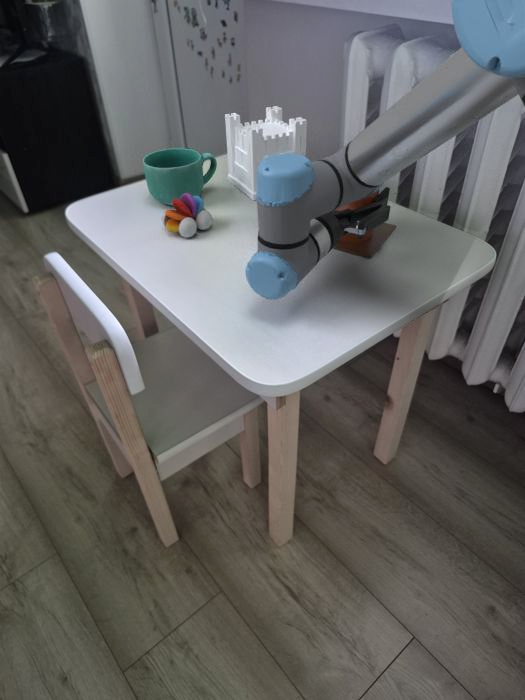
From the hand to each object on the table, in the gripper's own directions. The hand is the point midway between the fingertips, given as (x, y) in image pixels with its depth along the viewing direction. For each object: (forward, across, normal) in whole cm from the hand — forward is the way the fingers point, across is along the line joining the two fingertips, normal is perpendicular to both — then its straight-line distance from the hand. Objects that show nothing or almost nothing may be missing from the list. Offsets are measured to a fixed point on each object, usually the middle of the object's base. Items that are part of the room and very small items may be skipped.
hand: (363, 189), depth 94 cm
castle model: (+9, -28, -8) cm, 31 cm away
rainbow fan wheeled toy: (-19, -30, -8) cm, 36 cm away
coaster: (-5, 0, -8) cm, 9 cm away
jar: (-5, 0, -7) cm, 8 cm away
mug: (-7, -40, -8) cm, 41 cm away
